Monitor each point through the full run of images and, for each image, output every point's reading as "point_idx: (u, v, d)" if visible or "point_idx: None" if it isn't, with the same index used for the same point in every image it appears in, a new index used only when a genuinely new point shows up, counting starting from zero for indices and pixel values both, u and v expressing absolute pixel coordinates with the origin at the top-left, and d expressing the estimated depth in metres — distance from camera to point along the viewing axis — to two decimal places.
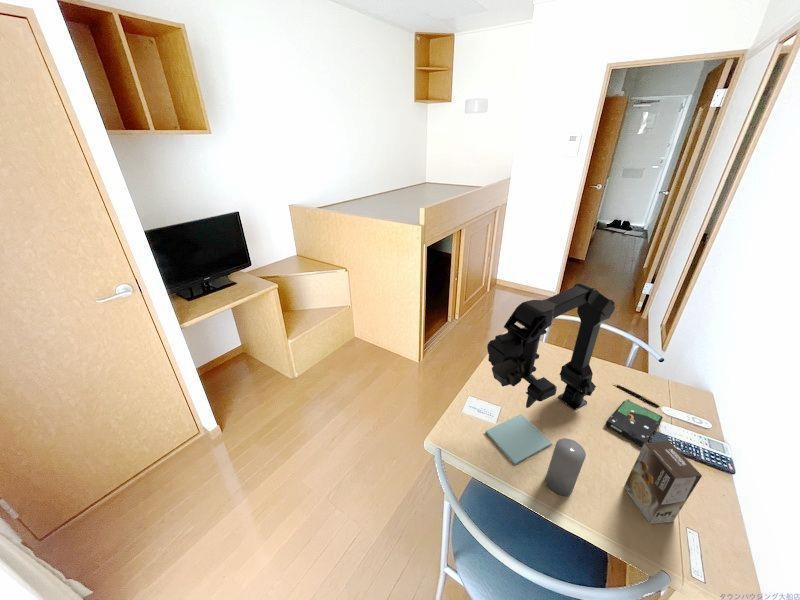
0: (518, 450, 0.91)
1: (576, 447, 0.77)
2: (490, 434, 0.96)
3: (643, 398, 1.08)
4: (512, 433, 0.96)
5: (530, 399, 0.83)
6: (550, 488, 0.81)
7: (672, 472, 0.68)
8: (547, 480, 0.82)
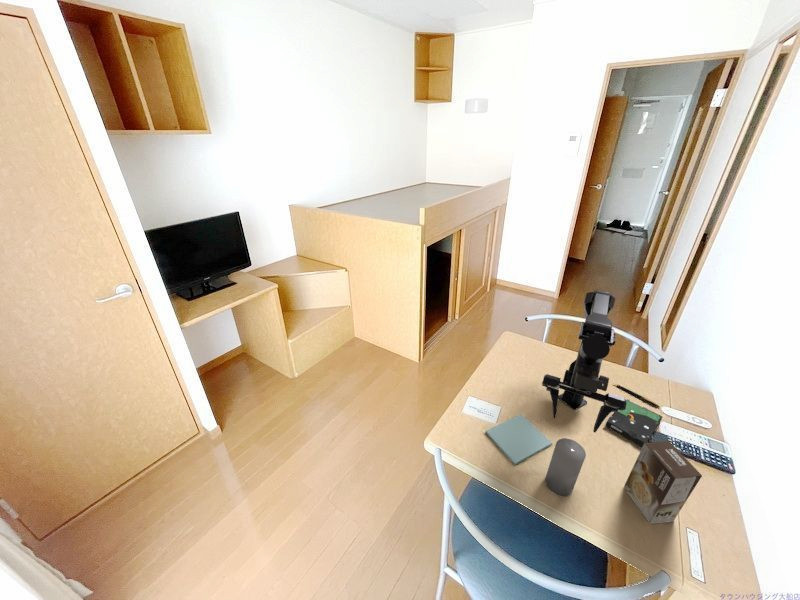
0: (518, 450, 0.91)
1: (576, 447, 0.77)
2: (490, 434, 0.96)
3: (643, 398, 1.08)
4: (512, 433, 0.96)
5: (604, 416, 0.80)
6: (550, 488, 0.81)
7: (672, 472, 0.68)
8: (547, 480, 0.82)
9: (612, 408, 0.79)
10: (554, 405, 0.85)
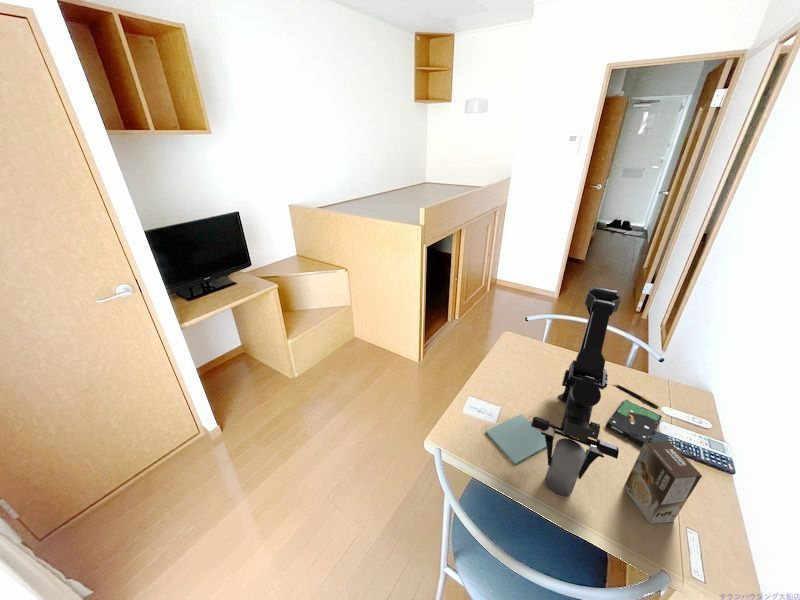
0: (518, 450, 0.91)
1: (576, 447, 0.77)
2: (490, 434, 0.96)
3: (642, 398, 1.07)
4: (512, 433, 0.96)
5: (589, 462, 0.76)
6: (550, 488, 0.81)
7: (672, 472, 0.68)
8: (547, 480, 0.82)
9: (597, 454, 0.75)
10: (549, 452, 0.80)
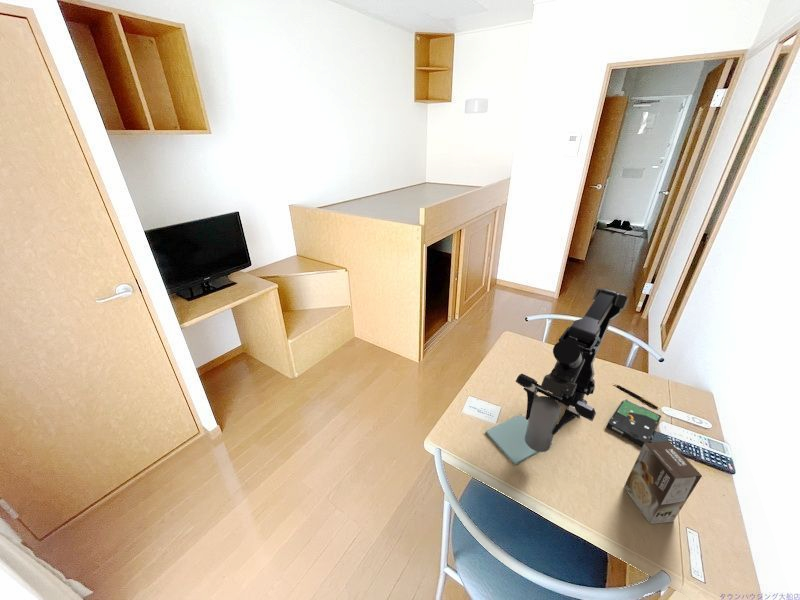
0: (518, 450, 0.91)
1: (553, 405, 0.80)
2: (490, 434, 0.96)
3: (642, 399, 1.07)
4: (512, 433, 0.96)
5: (564, 420, 0.79)
6: (527, 442, 0.85)
7: (672, 472, 0.68)
8: (525, 435, 0.86)
9: (572, 413, 0.77)
10: (528, 407, 0.84)
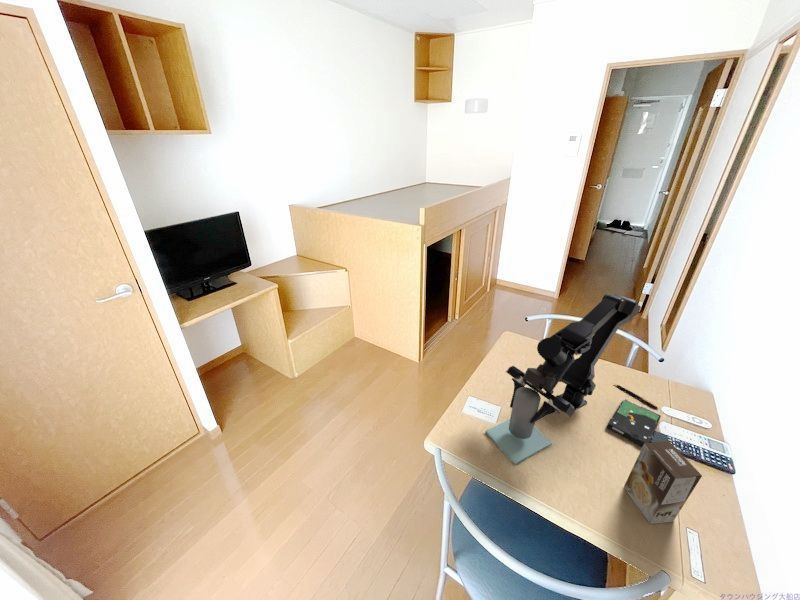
0: (518, 450, 0.91)
1: (534, 396, 0.87)
2: (490, 434, 0.96)
3: (642, 399, 1.07)
4: None
5: (542, 411, 0.85)
6: (509, 428, 0.93)
7: (672, 472, 0.68)
8: None
9: (549, 405, 0.84)
10: (513, 396, 0.92)
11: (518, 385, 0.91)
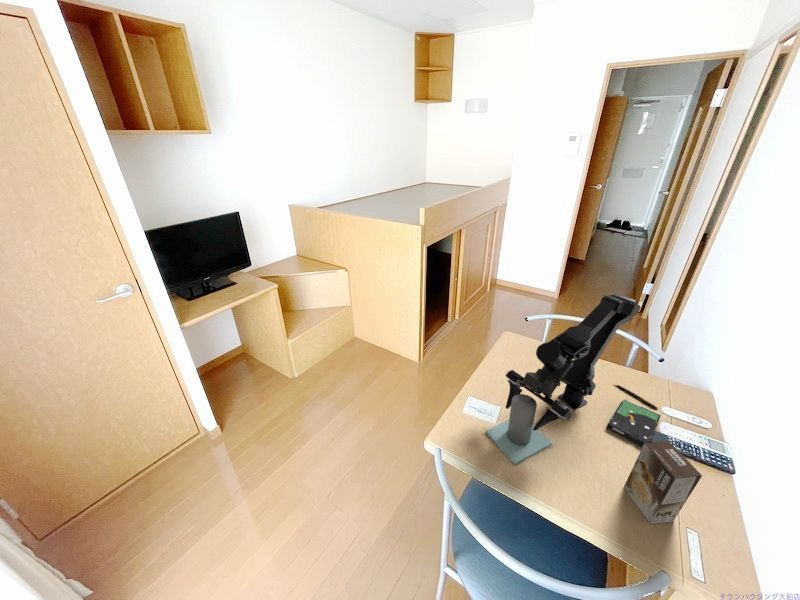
0: (518, 450, 0.91)
1: (530, 402, 0.89)
2: (490, 434, 0.96)
3: (641, 399, 1.07)
4: None
5: (545, 418, 0.85)
6: (507, 435, 0.94)
7: (672, 472, 0.68)
8: None
9: (552, 412, 0.84)
10: (509, 397, 0.94)
11: (513, 387, 0.93)
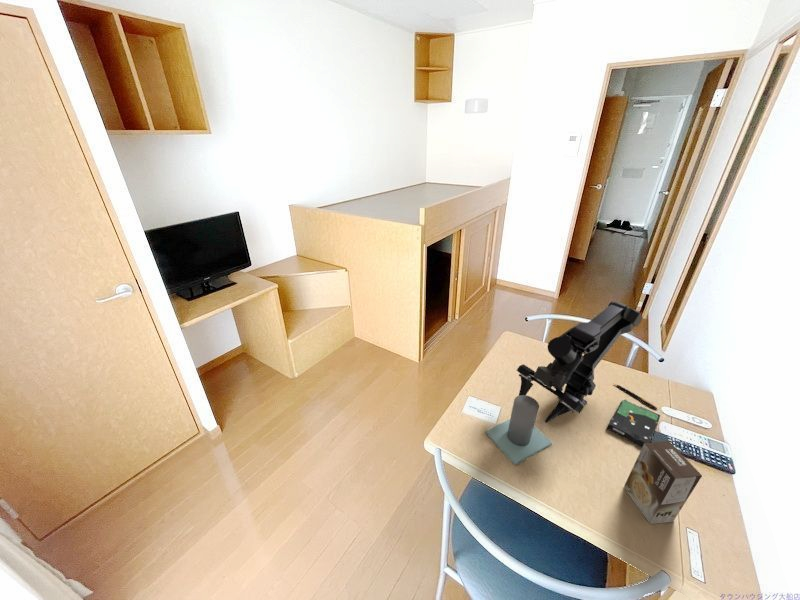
0: (518, 450, 0.91)
1: (532, 404, 0.89)
2: (490, 434, 0.96)
3: (641, 399, 1.07)
4: None
5: (557, 411, 0.88)
6: (508, 435, 0.94)
7: (672, 472, 0.68)
8: (508, 428, 0.95)
9: (563, 405, 0.86)
10: (520, 391, 0.96)
11: (525, 380, 0.95)
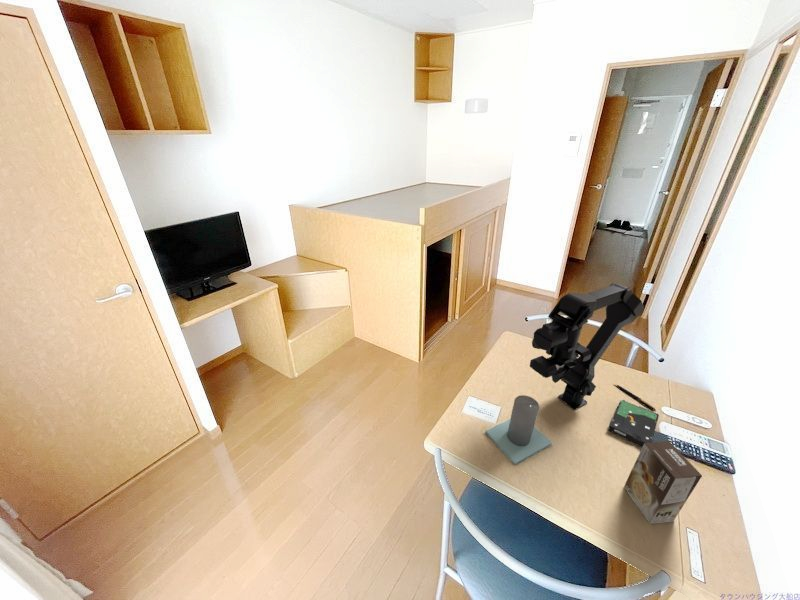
0: (518, 450, 0.91)
1: (532, 404, 0.88)
2: (490, 434, 0.96)
3: (640, 400, 1.07)
4: None
5: None
6: (508, 435, 0.94)
7: (672, 472, 0.68)
8: (508, 429, 0.95)
9: None
10: None
11: None
